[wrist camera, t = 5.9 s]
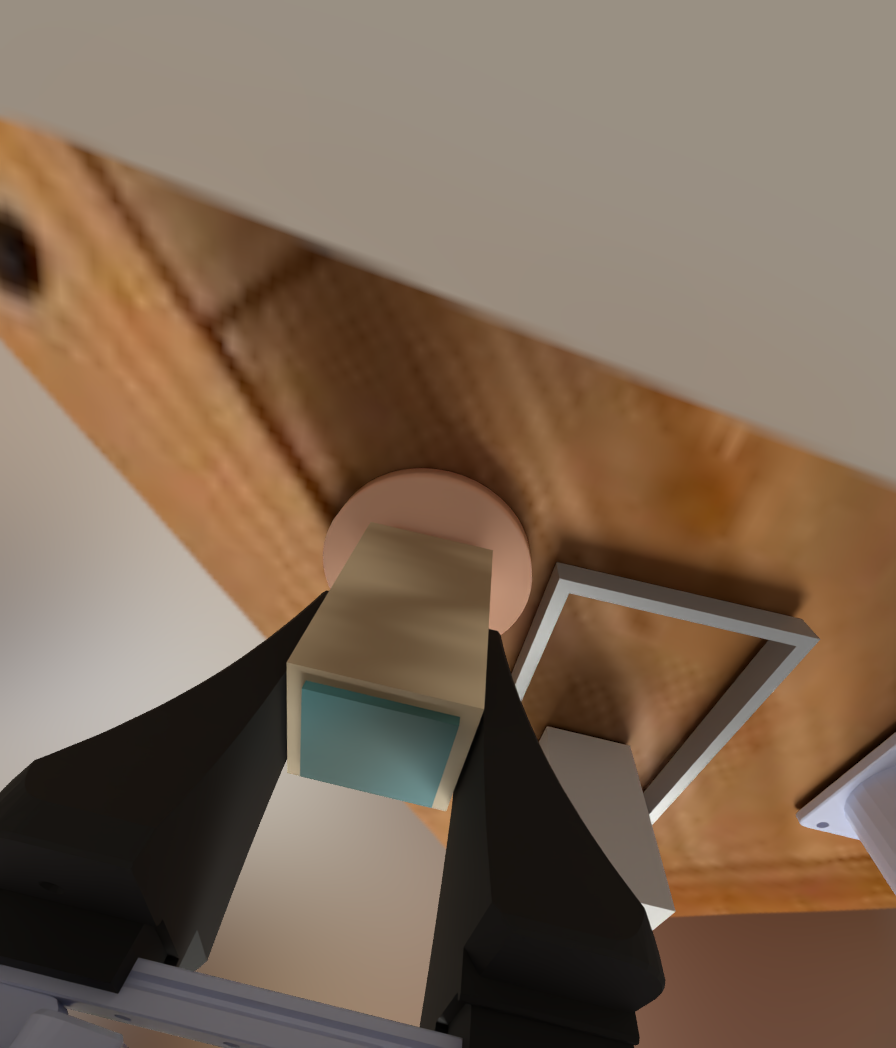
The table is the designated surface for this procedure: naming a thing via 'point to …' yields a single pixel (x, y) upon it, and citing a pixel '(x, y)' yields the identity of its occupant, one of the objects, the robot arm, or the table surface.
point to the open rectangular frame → (757, 679)
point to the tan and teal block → (393, 669)
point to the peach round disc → (440, 528)
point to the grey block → (612, 811)
